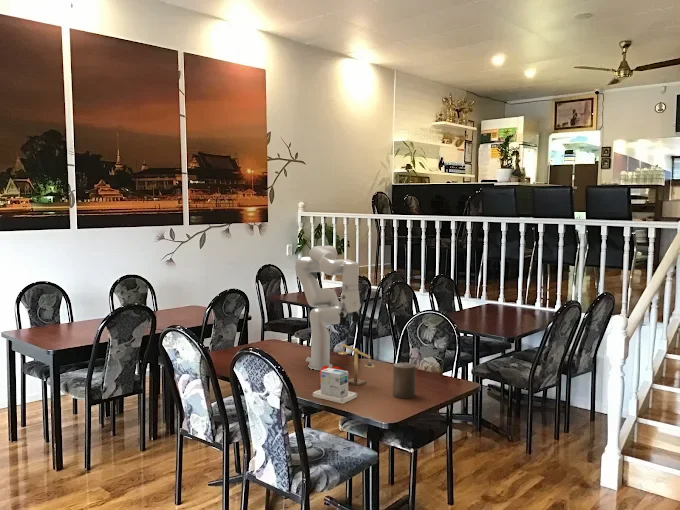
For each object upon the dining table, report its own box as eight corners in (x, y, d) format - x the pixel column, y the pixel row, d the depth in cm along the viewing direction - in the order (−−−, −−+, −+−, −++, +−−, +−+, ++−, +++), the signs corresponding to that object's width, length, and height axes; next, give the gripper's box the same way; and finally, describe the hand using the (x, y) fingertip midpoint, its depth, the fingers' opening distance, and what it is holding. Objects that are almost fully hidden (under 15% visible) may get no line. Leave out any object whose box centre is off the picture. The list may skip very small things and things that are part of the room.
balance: (334, 381, 284) (335, 344, 283) (342, 378, 289) (342, 342, 288) (370, 388, 273) (370, 350, 271) (376, 385, 278) (377, 347, 276)
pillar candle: (414, 399, 258) (415, 365, 257) (391, 397, 260) (392, 364, 259) (415, 392, 268) (416, 360, 267) (393, 391, 269) (394, 358, 268)
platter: (312, 396, 260) (312, 392, 260) (327, 390, 269) (327, 386, 269) (342, 403, 251) (342, 399, 251) (357, 397, 260) (357, 393, 260)
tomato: (315, 388, 272) (315, 369, 271) (323, 381, 284) (323, 362, 283) (338, 390, 269) (338, 371, 268) (345, 383, 281) (345, 364, 280)
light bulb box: (348, 395, 260) (348, 370, 259) (339, 399, 254) (340, 374, 253) (328, 390, 266) (328, 366, 265) (319, 394, 260) (320, 370, 259)
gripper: (345, 290, 270) (344, 327, 272) (367, 286, 284) (365, 321, 286) (332, 288, 275) (331, 325, 277) (354, 284, 289) (353, 319, 290)
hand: (349, 323), depth 281 cm, fingers open, 9 cm apart
